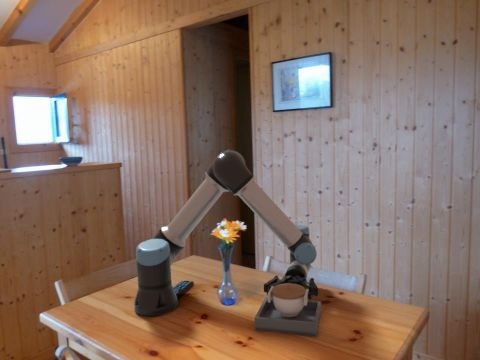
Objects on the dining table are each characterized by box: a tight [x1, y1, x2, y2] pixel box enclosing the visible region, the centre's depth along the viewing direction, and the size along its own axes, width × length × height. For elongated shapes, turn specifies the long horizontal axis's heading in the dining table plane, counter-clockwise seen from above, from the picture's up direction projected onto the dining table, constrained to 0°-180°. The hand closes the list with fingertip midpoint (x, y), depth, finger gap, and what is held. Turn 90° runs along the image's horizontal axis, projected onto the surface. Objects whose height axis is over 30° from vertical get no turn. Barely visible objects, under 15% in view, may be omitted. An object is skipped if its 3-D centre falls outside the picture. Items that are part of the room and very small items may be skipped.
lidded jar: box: [272, 283, 306, 317], centre depth 126 cm, size 11×11×9 cm
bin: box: [254, 296, 322, 338], centre depth 126 cm, size 19×16×4 cm
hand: (286, 299), depth 122 cm, fingers closed on lidded jar, 11 cm apart
